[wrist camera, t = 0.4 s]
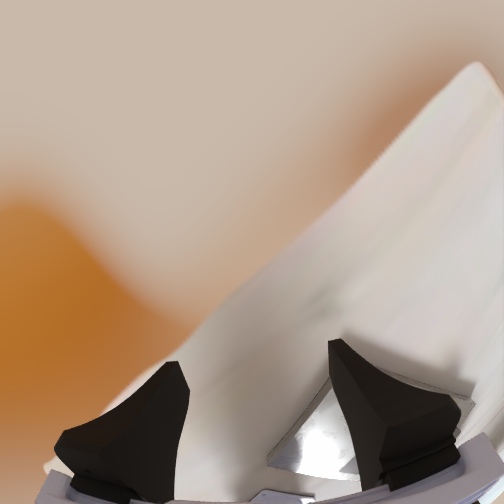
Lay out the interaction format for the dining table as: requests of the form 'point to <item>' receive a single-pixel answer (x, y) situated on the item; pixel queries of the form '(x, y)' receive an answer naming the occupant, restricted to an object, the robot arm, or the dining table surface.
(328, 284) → the dining table surface
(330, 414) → the panel
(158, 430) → the robot arm
